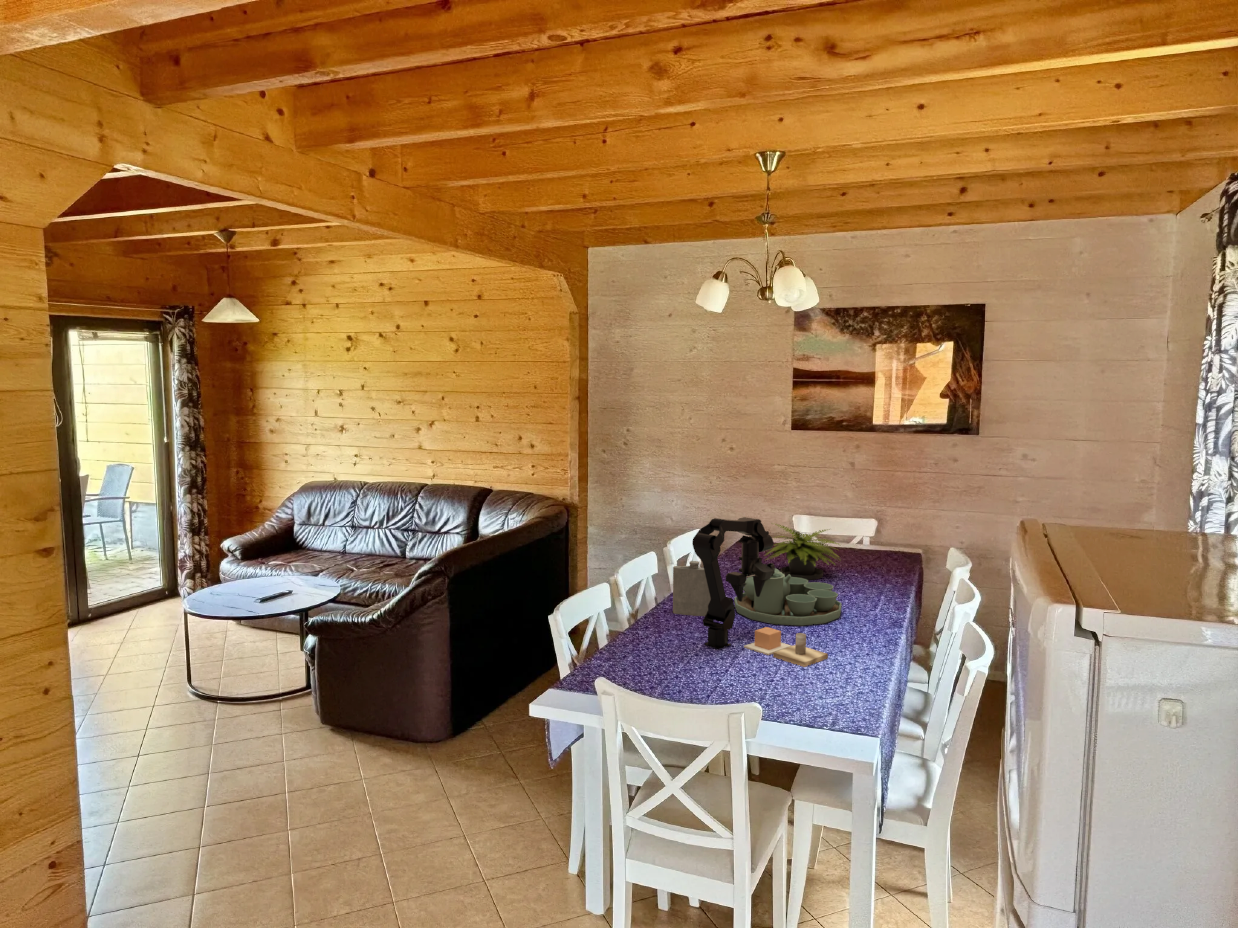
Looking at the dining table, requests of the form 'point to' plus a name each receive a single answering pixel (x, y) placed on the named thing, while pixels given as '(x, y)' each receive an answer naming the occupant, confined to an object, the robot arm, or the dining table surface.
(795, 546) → the fern plant
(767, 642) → the orange cube
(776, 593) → the tea set
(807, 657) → the post stand
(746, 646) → the pad
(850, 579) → the dining table surface
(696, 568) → the hip flask
